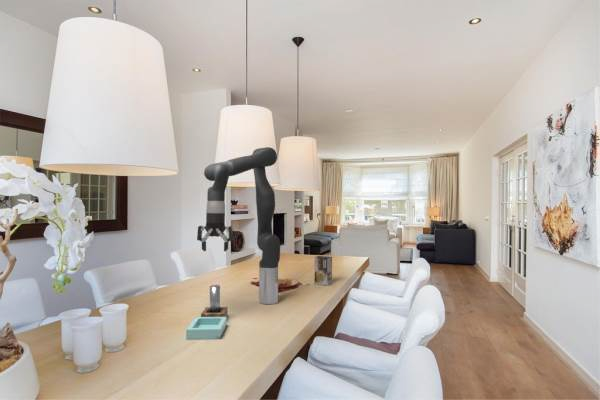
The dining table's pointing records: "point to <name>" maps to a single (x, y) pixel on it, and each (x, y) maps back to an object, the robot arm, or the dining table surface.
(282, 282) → the plate with food
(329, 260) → the coffee box
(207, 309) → the holder
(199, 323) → the tray
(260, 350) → the dining table surface
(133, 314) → the dining table surface
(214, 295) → the pin
